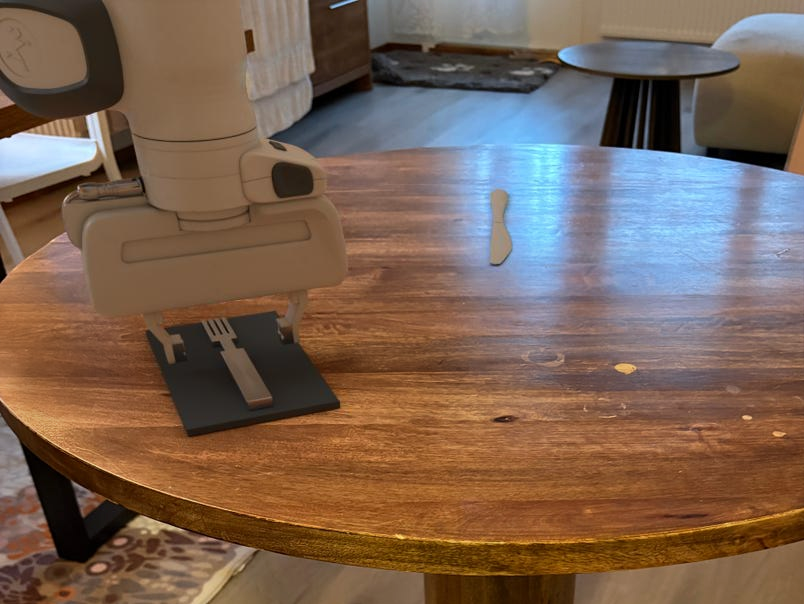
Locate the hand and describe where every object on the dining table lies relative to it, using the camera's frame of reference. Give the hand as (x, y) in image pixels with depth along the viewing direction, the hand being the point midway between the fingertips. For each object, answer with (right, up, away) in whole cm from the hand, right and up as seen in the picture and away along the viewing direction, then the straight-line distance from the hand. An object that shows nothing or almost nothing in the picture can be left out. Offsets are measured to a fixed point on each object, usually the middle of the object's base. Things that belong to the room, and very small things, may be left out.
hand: (234, 351), depth 77 cm
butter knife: (+23, +24, +31) cm, 45 cm away
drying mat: (0, -1, +1) cm, 2 cm away
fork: (0, -1, +1) cm, 1 cm away
